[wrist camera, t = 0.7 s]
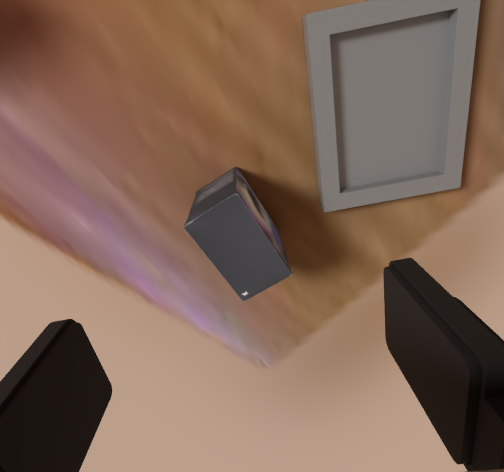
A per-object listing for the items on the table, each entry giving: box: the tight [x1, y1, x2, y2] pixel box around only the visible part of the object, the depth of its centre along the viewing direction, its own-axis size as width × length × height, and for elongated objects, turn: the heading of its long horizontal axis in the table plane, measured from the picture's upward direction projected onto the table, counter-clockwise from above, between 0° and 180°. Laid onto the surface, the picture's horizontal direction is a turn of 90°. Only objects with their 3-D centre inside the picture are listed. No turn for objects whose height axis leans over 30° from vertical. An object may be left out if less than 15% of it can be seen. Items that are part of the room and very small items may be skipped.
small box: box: [184, 167, 292, 301], centre depth 36 cm, size 11×6×10 cm, turn 32°
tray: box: [302, 0, 480, 212], centre depth 35 cm, size 20×16×2 cm
